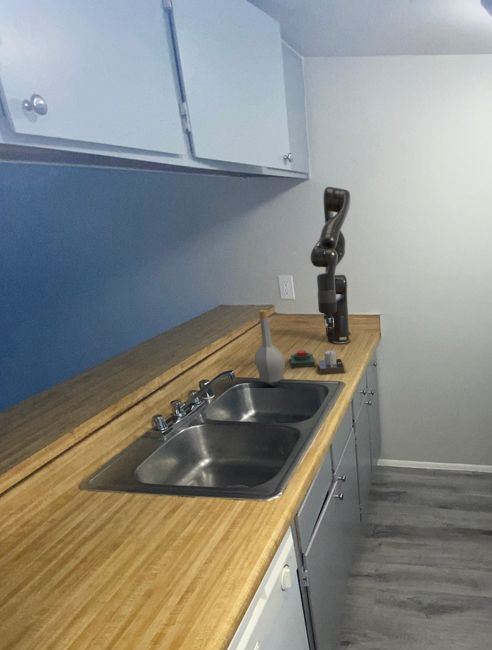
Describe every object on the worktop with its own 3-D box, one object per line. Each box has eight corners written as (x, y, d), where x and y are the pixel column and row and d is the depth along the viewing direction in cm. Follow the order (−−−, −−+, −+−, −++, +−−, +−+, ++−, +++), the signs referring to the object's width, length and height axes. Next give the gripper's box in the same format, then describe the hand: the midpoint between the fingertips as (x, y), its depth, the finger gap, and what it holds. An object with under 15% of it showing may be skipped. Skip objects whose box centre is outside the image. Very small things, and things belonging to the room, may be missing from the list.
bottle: (292, 382, 193) (283, 308, 179) (279, 392, 184) (269, 315, 169) (266, 380, 195) (256, 306, 181) (253, 390, 186) (241, 313, 172)
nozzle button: (297, 354, 215) (296, 350, 214) (306, 353, 216) (305, 350, 215) (297, 357, 212) (297, 353, 211) (306, 356, 212) (306, 352, 212)
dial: (324, 362, 209) (324, 350, 206) (335, 361, 210) (335, 349, 207) (325, 365, 205) (325, 353, 202) (337, 364, 206) (336, 353, 203)
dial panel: (318, 365, 213) (318, 359, 211) (341, 363, 215) (340, 358, 213) (321, 374, 202) (320, 368, 201) (344, 372, 204) (343, 366, 203)
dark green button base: (291, 359, 219) (290, 351, 218) (312, 358, 222) (312, 350, 220) (291, 368, 209) (290, 359, 207) (314, 366, 211) (313, 357, 209)
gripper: (338, 303, 189) (340, 343, 197) (334, 296, 201) (336, 334, 209) (319, 304, 188) (322, 344, 195) (316, 297, 200) (319, 335, 207)
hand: (329, 339), depth 202 cm, fingers open, 8 cm apart
